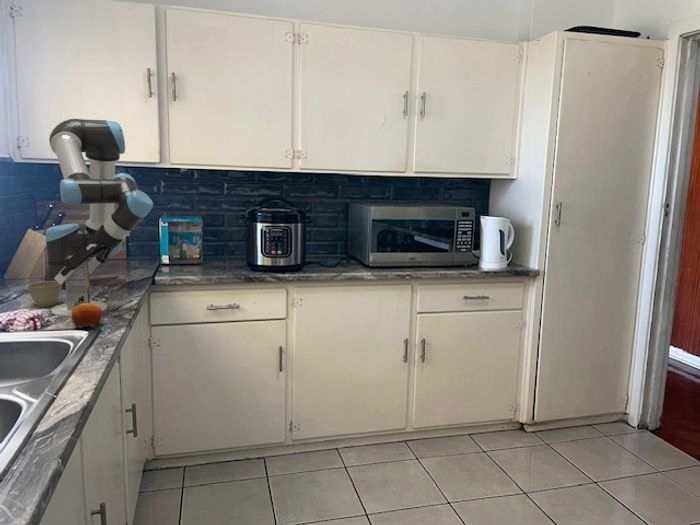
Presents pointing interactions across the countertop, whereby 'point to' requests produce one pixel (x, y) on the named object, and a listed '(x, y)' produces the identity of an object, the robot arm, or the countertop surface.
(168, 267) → the countertop surface
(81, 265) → the coffee box
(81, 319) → the fruit
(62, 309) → the plate
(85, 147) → the robot arm
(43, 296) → the flower pot
